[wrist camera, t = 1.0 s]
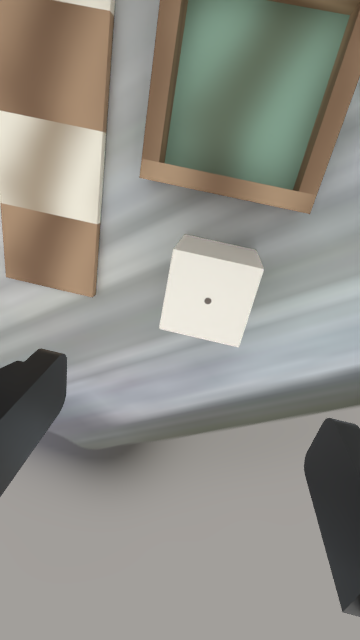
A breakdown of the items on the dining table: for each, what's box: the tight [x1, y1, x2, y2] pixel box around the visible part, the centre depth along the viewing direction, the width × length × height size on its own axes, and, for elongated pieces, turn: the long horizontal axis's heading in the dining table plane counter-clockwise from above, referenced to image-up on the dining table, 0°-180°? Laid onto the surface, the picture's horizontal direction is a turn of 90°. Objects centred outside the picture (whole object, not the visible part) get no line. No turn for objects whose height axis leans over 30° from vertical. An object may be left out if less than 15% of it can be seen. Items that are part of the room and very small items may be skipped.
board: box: [0, 0, 115, 297], centre depth 19 cm, size 7×22×1 cm, turn 169°
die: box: [159, 234, 264, 347], centre depth 20 cm, size 5×5×5 cm
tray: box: [140, 0, 360, 214], centre depth 16 cm, size 10×10×2 cm
